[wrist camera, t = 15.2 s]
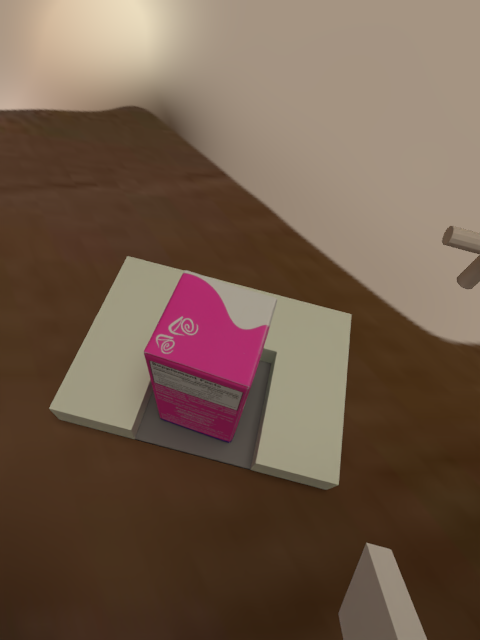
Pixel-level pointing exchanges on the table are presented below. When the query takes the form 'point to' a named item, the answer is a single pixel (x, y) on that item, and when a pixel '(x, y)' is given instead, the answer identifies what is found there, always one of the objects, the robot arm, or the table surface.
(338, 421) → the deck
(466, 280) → the pipe connector
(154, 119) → the table surface
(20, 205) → the table surface
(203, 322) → the supplement box
